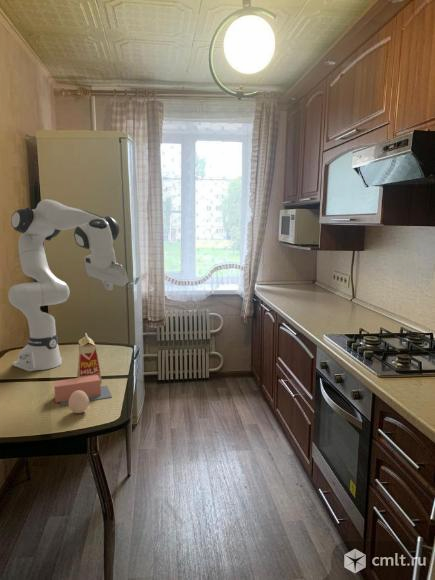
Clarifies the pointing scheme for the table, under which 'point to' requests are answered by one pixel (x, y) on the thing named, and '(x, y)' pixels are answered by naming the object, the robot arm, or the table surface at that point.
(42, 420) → the table surface
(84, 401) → the egg
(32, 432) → the table surface
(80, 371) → the milk carton
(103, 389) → the mat
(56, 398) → the block
